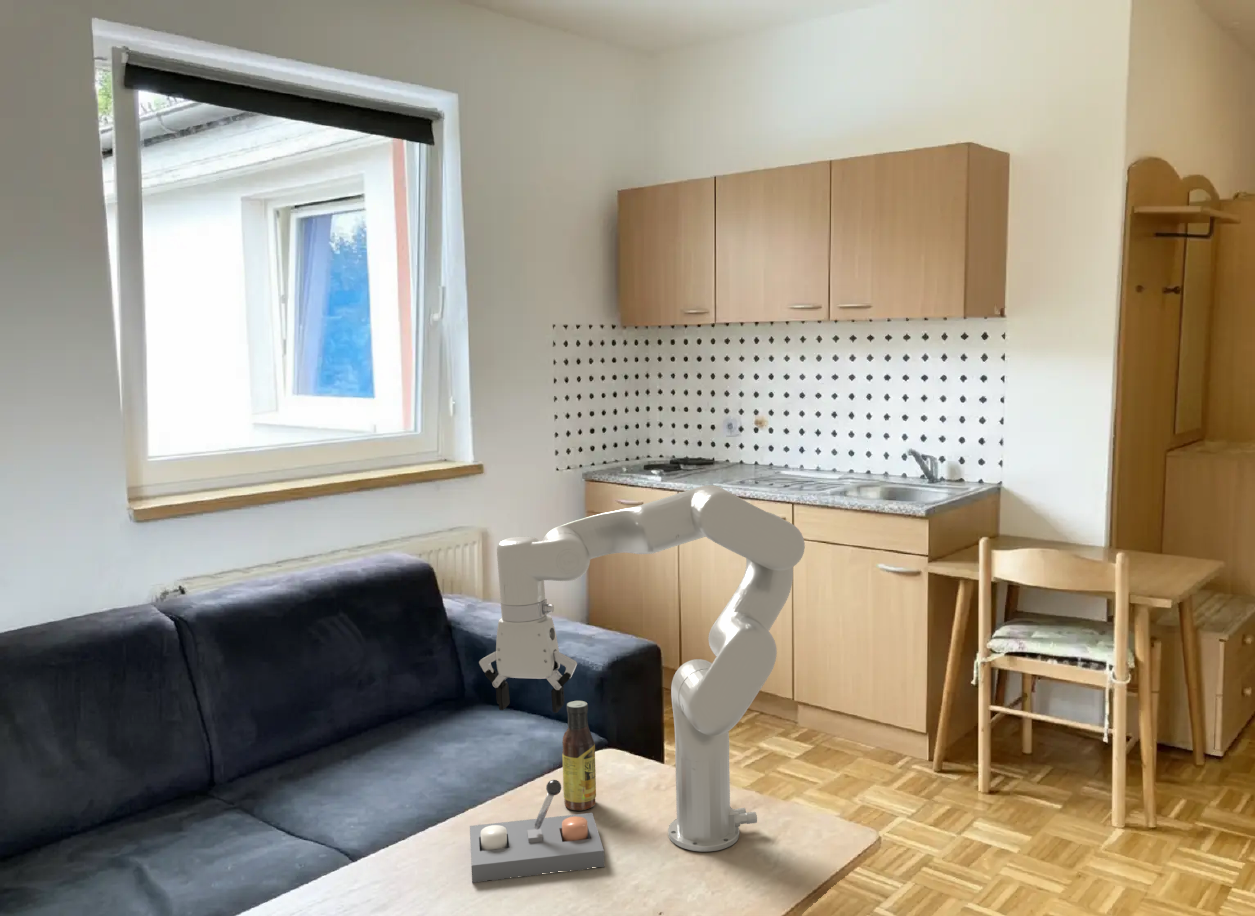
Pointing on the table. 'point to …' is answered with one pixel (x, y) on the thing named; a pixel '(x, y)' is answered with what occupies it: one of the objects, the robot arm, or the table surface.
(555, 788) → the toggle lever
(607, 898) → the table surface
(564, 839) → the terracotta button
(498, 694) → the robot arm
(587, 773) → the sauce bottle
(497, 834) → the offwhite button
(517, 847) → the control panel
